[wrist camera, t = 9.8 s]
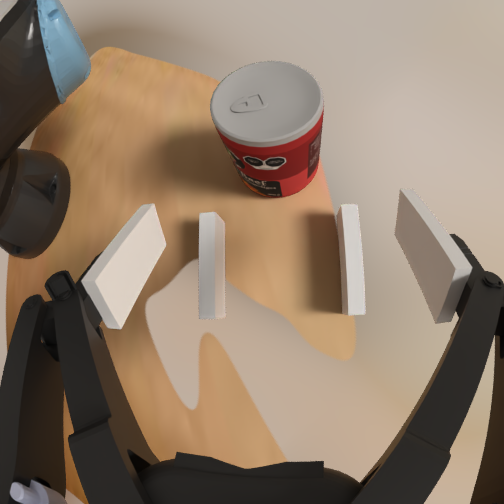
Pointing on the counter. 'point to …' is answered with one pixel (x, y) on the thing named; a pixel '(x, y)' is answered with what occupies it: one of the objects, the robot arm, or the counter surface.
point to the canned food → (271, 125)
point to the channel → (214, 263)
